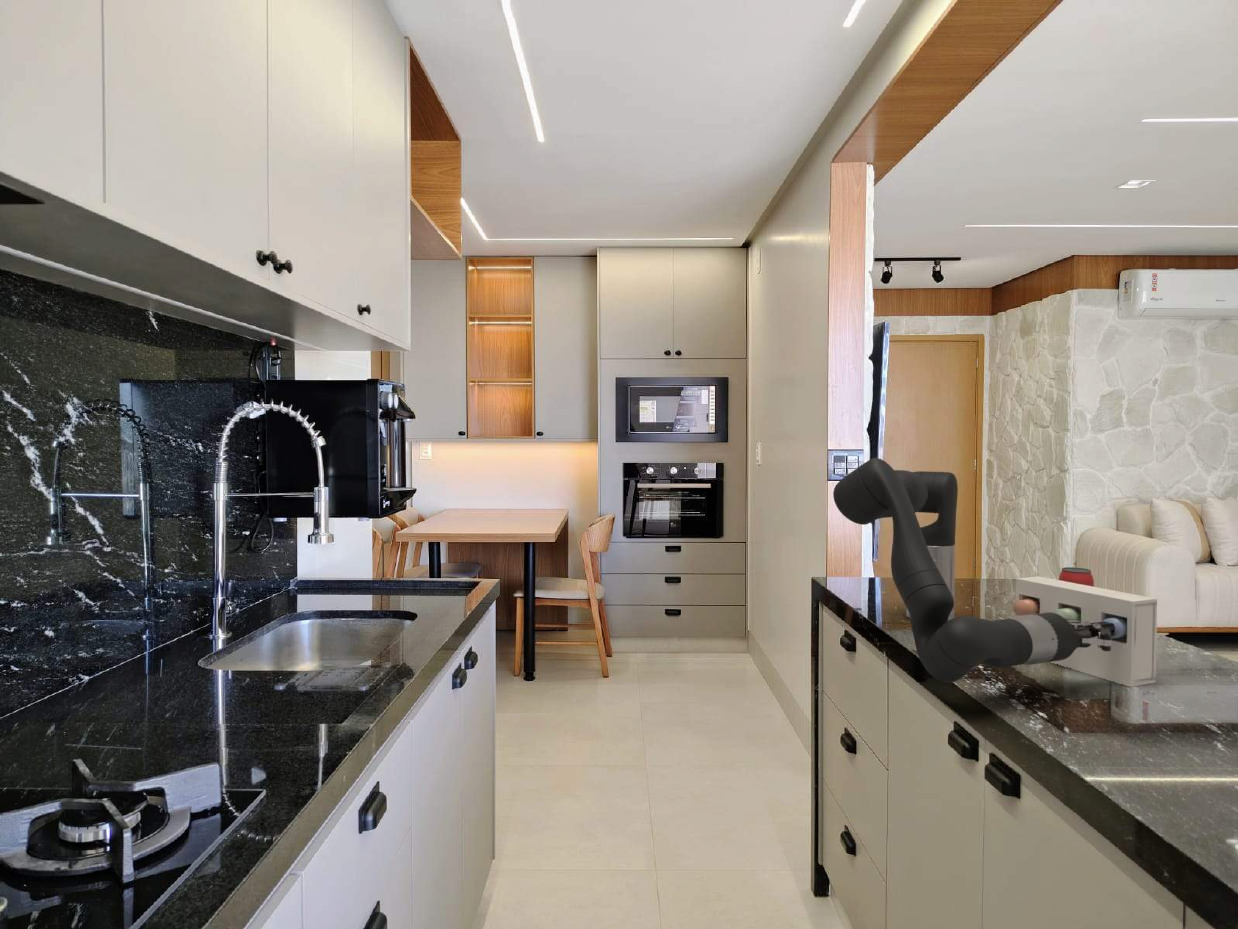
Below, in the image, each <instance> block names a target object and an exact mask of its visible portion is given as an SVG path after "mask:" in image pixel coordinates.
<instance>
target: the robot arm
mask: <svg viewBox="0 0 1238 929" xmlns="http://www.w3.org/2000/svg"><path fill="white" fill-rule="evenodd" d="M958 487H959V486H958V480H957V477H956V475H955V474H954V473H952V472H949V471H922V470H921V471H910V470H906V469H905V470H903V469H900V470H899V469H894V468H893V467H892V466H891V465H890V464H889V463H888V462H886V461H885V460H883V459H882V458H879V457H874V458H870V459H868V460H866V462H864V463H862V464H861V465H859V466H858V467H856V468H855V469H854V470H852V471H851V472H849V473H848V474H847V475H845V476H844V477H843V478H841V479H840V480H839V481H838V482H837V483H836V484H835V486H834V488H833V493H832V494H833V501H834V503H835V506H836V508H837V509H838V511H839V512H840V513H841V514H842V516H844V517H845V518H846V519H847V520H849V521H850V522H852V523H854V524H858V525H863V526H864V525H865V526H866V525H869V524H871V523H873V522H874V521H877V520H879V519H885V518H886V519H888V518H891V519H892V532H893V534H892V546H891V555H890V556H891V557H890V568H891V569H890V570H891V576H892V580H893V582H894V585H895V588H896V589H897V592H898V593H899V595H900V598H901V599H902V602H903V603H904V605H905V607H906V611H905V616H906V617H907V618H909V620H910V626H911V630H912V635H913V639H914V644H915V645H914V646H915V649H916V653H917V655H918V659H919V660H920V662H921V664H922V666H923V667H924V669H925V670H926V671H927V672H928V673H929V674H930V675H931V676H933V678H935V679H937V680H938V681H941V682H944V683H955V682H958V681H959V680H961V679H962V678H964V677H965V676H966V675H967V674H968V673H970V672H971V671H972V670H973V669H975V667H976V666H978V665H979V664H980V663H982V664H984V665H986V666H987V667H989V668H990V667H991V668H1006V667H1007V668H1009V667H1014V666H1022V665H1025V666H1031V665H1039V664H1045V663H1050V662H1053V661H1060V660H1064V659H1066V658H1068V657H1069V656H1070V655H1071V654H1072V653H1073V652H1074V651H1075V650H1077V649H1081V648H1087V647H1089V646H1090V645H1093V644H1094V645H1098V648H1101V650H1104V651H1111V637H1113V636H1114V635H1115V626H1114V624H1113V623H1109V622H1105V621H1103V622H1095V623H1090V622H1087V621H1085V622H1080V621H1077V620H1075V619H1072V620H1069V619H1065V618H1064V617H1062V616H1060V615H1058V614H1056V613H1051V612H1047V613H1039V614H1030V615H1022V616H1016V617H1015V616H1013V617H1012V616H1011V617H1010V618H1001V619H996V620H995V619H994V620H988V619H986V618H985V619H984V618H979V617H975V616H969V615H960V616H957V617H955V586H956V584H955V581H956V580H955V579H956V578H955V577H956V575H955V574H956V572H955V570H956V530H957V529H956V527H957V526H956V525H957V523H956V522H957V506H958V491H959V488H958ZM916 513H925V514H926V513H928V514H938V515H937V519H936V520H934V521H933V522H932V523H930V524H927V525H925V526H921V525H920V523H919V520H918V517H917V514H916Z"/></svg>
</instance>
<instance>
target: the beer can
mask: <svg viewBox="0 0 1238 929" xmlns="http://www.w3.org/2000/svg"><path fill="white" fill-rule="evenodd" d="M1060 571H1061V572H1060V574H1059V575H1058V580H1060V581H1066V582H1071V583H1076V584H1082V585H1087V586H1092V587H1095V586H1094V585H1095V584H1094V583H1095V580H1094V577H1093V575H1092V570H1091V569H1089V568H1084V567H1070V566H1069V567H1062V568H1061V570H1060Z"/></svg>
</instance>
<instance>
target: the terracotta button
mask: <svg viewBox="0 0 1238 929" xmlns="http://www.w3.org/2000/svg"><path fill="white" fill-rule="evenodd" d="M1012 609H1013V612H1014V615H1015V614H1016V615H1017V616H1022V615H1030V614H1039V613H1040V602H1039V601H1038V600H1037V599H1026V600H1018V601H1016V602H1015V601H1014V603H1013V606H1012Z"/></svg>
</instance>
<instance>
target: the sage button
mask: <svg viewBox="0 0 1238 929" xmlns="http://www.w3.org/2000/svg"><path fill="white" fill-rule="evenodd" d="M1053 613H1056V614H1058V615H1060V616H1062V617H1064V618H1065V619H1069V620H1072V619H1075V620H1077V621H1080V622H1081V611H1080V610H1079V609H1077V608H1065V609H1057V610H1055V611H1054V612H1053Z"/></svg>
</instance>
